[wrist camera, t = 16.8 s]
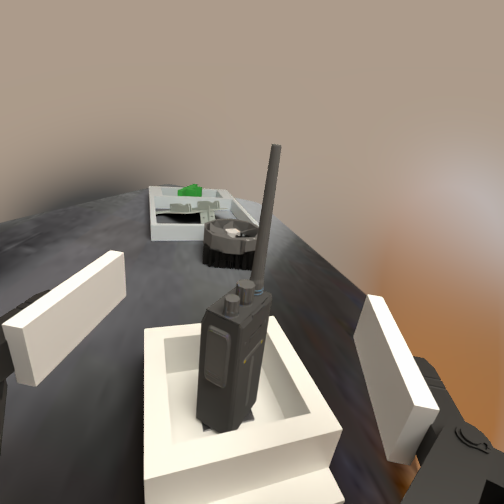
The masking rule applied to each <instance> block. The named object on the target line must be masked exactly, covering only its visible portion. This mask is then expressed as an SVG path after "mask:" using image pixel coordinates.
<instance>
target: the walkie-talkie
mask: <svg viewBox="0 0 504 504" xmlns="http://www.w3.org/2000/svg"><path fill="white" fill-rule="evenodd" d="M280 153H281V145H276V144H272V147H271V153H270V159H269V165H268V172H267V178H266V184H265V190H264V198H263V203H262V209H261V216H260V222H259V228H258V235H257V241H256V247H255V254H254V260H253V266H252V273H251V277H250V280H248V279H245V280H239V281H238V282H237V286H236V287H235V288H234V289H232V290H231V291H230V292H228V293H227V294H226V295H224V296H223V297H222V298H220V299H219V300H218V301H216V302H215V303H214V304H212V305H211V306H210V307H208V308H207V309H206V310H207V311H206V313H205V315H204V317H203V319H202V321H201V337H200V354H199V372H198V389H197V407H196V418H197V419H198V420H200V421H201V422H203V423H204V424H206V425H207V426H209V427H210V428H212V429H213V430H215V431H217V432H218V433H220V434H221V433H225V432H230V431H234V430H237V429H238V428H239V426H240V425H241V423H242V422H243V420H244V419H245V417H246V416H247V414H248V413H249V411H250V410H251V408H252V407H253V405H254V404H255V402H256V399H257V392H258V386H259V379H260V372H261V366H262V359H263V353H264V347H265V340H266V334H267V328H268V321H269V315H270V308H271V302H272V294H271V293H268V292H265V291H263V289H264V288H263V284H264V279H263V278H264V270H265V263H266V256H267V248H268V241H269V234H270V226H271V219H272V211H273V204H274V197H275V190H276V182H277V175H278V167H279V160H280Z"/></svg>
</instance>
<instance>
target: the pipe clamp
mask: <svg viewBox="0 0 504 504" xmlns="http://www.w3.org/2000/svg"><path fill="white" fill-rule="evenodd" d="M178 196H191V197H202V187H197V184H193V185H190V186H187V187H185V188H182V189H180V190H178Z"/></svg>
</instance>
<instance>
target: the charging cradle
mask: <svg viewBox="0 0 504 504" xmlns="http://www.w3.org/2000/svg"><path fill="white" fill-rule="evenodd" d="M200 337H201V323H199V324H189V325H179V326H169V327H158V328H148V329H144V493H145V504H343V503H344V501H345V499H344V497H343V495H342V493H341V491H340V489H339V487H338V485H337V483H336V481H335V479H334V477H333V475H332V473H331V471H330V469H329V465H330V462H331V459H332V457H333V454H334V451H335V448H336V446H337V443H338V440H339V438H340V435H341V432H342V427H341V426H340V424H339V423H338V421H337V419H336V418H335V416H334V414H333V413H332V411H331V409H330V408H329V406H328V404H327V403H326V401H325V400H324V398H323V396H322V395H321V393H320V391H319V390H318V388H317V386H316V385H315V383H314V381H313V380H312V378H311V377H310V375H309V373H308V372H307V370H306V368H305V367H304V365H303V363H302V362H301V360H300V358H299V357H298V355H297V354H296V352H295V350H294V349H293V347H292V345H291V344H290V342H289V340H288V339H287V337H286V335H285V334H284V332H283V331H282V329H281V327H280V326H279V324H278V322H277V321H276V319H275V317H274V316H269V321H268V328H267V334H266V340H265V347H264V353H263V359H262V366H261V372H260V379H259V386H258V392H257V399H256V402H255V404H254V405H253V407H252V408H251V410H250V411H249V413H248V414H247V416H246V417H245V419H244V420H243V422H242V423H241V425H240V426H239V428H238V429H237V430H234V431H230V432H225V433H221V434H220V433H218V432H217V431H215V430H213V429H212V428H210V427H209V426H207V425H206V424H204V423H203V422H201V421H200V420H198V419H197V418H196V407H197V389H198V372H199V354H200Z"/></svg>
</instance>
